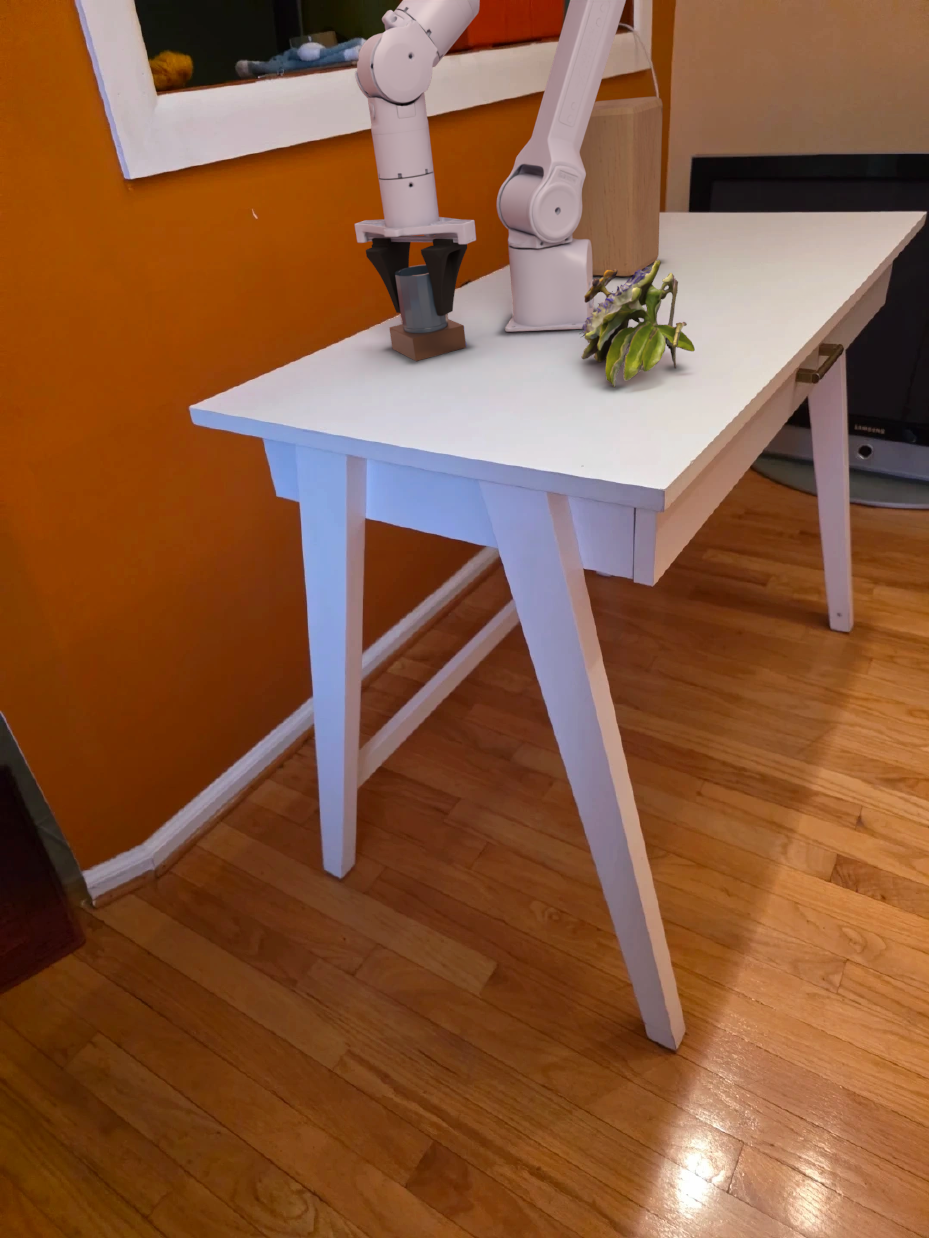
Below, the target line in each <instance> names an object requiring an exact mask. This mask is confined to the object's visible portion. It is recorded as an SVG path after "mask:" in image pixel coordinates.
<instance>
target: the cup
mask: <svg viewBox="0 0 929 1238" xmlns="http://www.w3.org/2000/svg"><path fill="white" fill-rule="evenodd" d="M394 274H395V281H396V287H397V294H398V301H399V308H400V313H399V314H400V321H401V324H402V326H403V330H404V331H405V332H408V333H428V332H433V331H437V330H440V329H443V328H445V327H446V326H448V324H449V323H448V319H449V313H448V314H446V315H444V316H438V315H437V312H436V308H435V303H434V296H433V288H432V283H431V279H430V275H429V272H428V269H427V266H426V264H418V265H417V264H416V265H411V266H409V267H406V268H403V269H400V270H398V271H396V272H395V273H394Z"/></svg>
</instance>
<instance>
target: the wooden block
mask: <svg viewBox="0 0 929 1238" xmlns="http://www.w3.org/2000/svg"><path fill="white" fill-rule="evenodd" d="M663 106H664V105H663V101H662V98H660V97H658V96H655V95H654V96H643V97H632V98H620V99H610V100H609V99H608V100H597V101H595V103H594V106H593V109H592V112H591V116H590V119H589V122H588V125H587V129H586V132H585V135H584V138H583V142H582V145H581V148H580V157H581V160H582V163H583V166H584V169H585V172H586V176H585V180H584V183H583V187H582V214H581V219H580V222H579V224H578V226H577V228H576V229H575V231H574V232H573V233H572V238H573V239H589V240H590V241H591V247H592V272H593V277H603V275H604V273H605V272H606V271H607V270H612V271H613V270H615V269H617V270H618V273H617V274H616V276H615V277H622V278H623V277H625V278H626V277H627V278H629V277H633V276H634V273H635V272H636V271H638V270H642V271H643V270H644V269H645V268H646V267H648V266H650V265H652V264H654V262H655V261H656V260H658V257H659V254H660V253H659V252H660V251H659V248H660V215H661V213H660V211H661V179H662V178H661V175H662V143H663V142H662V139H663V136H662V135H663Z"/></svg>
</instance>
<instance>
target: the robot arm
mask: <svg viewBox="0 0 929 1238" xmlns="http://www.w3.org/2000/svg"><path fill="white" fill-rule="evenodd" d="M626 1H627V0H569V3H568V7H567V10H566V13H565V17H564V20H563V24H562V28H561V31H560V35H559V38H558V42H557V46H556V49H555V53H554V56H553V60H552V63H551V67H550V71H549V74H548V78H547V81H546V85H545V88H544V92H543V95H542V99H541V103H540V107H539V109H538V113H537V116H536V120H535V124H534V127H533V131H532V134H531V137H530V139H529V140H528V141H527V143H526V144H525V145H524V147H523V148H522V149H521V150H520V152H519V153H518V155H516V157H515V161H514V164H513V167H512V170H511V172H510V174H509V175H508V177H506V179H505V180H504V181H503V183H502V184H501V186H500V188H499V190H498V193H497V198H496V212H497V215H498V218H499V220H500V222H501V223H502V225H503V226H504V227H505V229H507V230H508V237H507V244H508V245H507V248H508V261H509V274H510V276H509V277H510V288H511V303H512V316H511V318H510V319H509V321H508V322H507V324H506V325H505V327H504V329H505V332H508V333H509V332H511V333H512V332H529V331H530V332H532V331H533V332H534V331H536V332H537V331H559V330H560V331H561V330H582V329H583V328H582V327H583V325H584V324H586V323H585V321H586V319H587V318H588V317H591V316H592V314H591V313H593V312H594V310H595V307H594V306H595V305H594V304H595V297H594V298H593V299H592V300H590V301H589V302H587V303H585V297H584V296H585V295H586V294H587V292H588V291H589V290H590V288H591V287H592V286H593V285H592V283H593V280H594V276H593V272H592V247H591V241H590V240H589V239H573V238H572V233H573V232H574V231H575V229H576V228H577V226H578V224H579V222H580V219H581V214H582V187H583V183H584V180H585V176H586V172H585V169H584V166H583V163H582V160H581V157H580V148H581V145H582V142H583V138H584V135H585V132H586V129H587V125H588V122H589V119H590V116H591V112H592V109H593V106H594V103H595V102H596V100H597V95H598V92H599V89H600V86H601V82H602V79H603V77H604V74H605V70H606V67H607V63H608V60H609V57H610V53H611V51H612V47H613V43H614V41H615V37H616V33H617V31H618V28H619V24H620V21H621V18H622V15H623V11H624V7H625V4H626ZM480 3H481V2H480V0H402V1H401V2H400V3H399V4H398V6H397V7H396V8H395V10H394V11H393V9H389V10H387V11H386V12H385V14H384V15H383V16H382V18H381V21H382V23H383V24H384V29H385V31H384V32H381V33H377V34H374V35H372V36H371V37H369V38H368V39H366V41H365V42H364V43H363V44H362V46H361V48H360V49H359V51H358V55H357V57H358V60H357V61H356V70H355V72H354V78H355V82H356V84H357V86H358V88H359V90H360V91H361V93H362V94H363V96H365V97H366V99H367V102H368V111H369V117H370V125H371V126H370V131H371V137H372V144H373V150H374V158H375V165H376V170H377V178H378V184H379V192H380V198H381V205H382V210H383V218H384V219H365V220H363V221H359V222H356V223H354V230H355V231H354V232H355V234H356V235H355V236H356V243H358V244H364V243H368V242H371V243H372V244H371V247H369V248H367V249H365V256H366V259H368V261H369V262H370V263H371V264H372V266H373V267H374V268H375V270H376V271H377V273H378V275H379V276H380V278H381V280H382V282H383V284H384V286H385V289H386V290H387V293H388V295H389V297H390V299H391V302H392V305H393V307H394V309H395V313H397V314H400V308H399V301H398V294H397V287H396V281H395V274H394V273H395V272H396V271H398V270H400V269H403V268H406V267H410V249H411V244H412V243H432V245H430V246H427V247H424V248H422V249H420V254H421V256H422V259H423V262H424V264H425V265H426V266H427V269H428V272H429V275H430V279H431V283H432V288H433V296H434V303H435V308H436V312H437V315H438V316H444V315H446V314H448V315H449V314H450V313H451V312H453V310H454V301H455V291H456V287H457V286H456V285H457V281H458V276H459V273H460V268H461V265H462V263H463V259H464V258H465V257H464V256H465V254H466V252H467V249H468V244H471V243H473V242H476V241H477V234H476V223H475V220H474V219H461V218H460V219H459V218H453V217H452V218H451V217H442V216H440V213H439V206H438V198H437V197H438V196H437V187H436V178H435V171H434V162H433V153H432V144H431V136H430V125H429V119H428V113H427V105H426V95H425V92H427V91H428V90H429V88H430V86H431V81H432V77H433V68H436V66H438V65H439V63H440V62H441V60H442V59H443V58H444V57H445V55H446V54H447V53H448V52H449V50H450V49H451V48H452V47H453V45H454V44H455V43H456V42H457V41H458V39H459V38H460V36H461V35H462V34H463V33H464V32H465V30H466V29H467V28H468V26H470V24H472V21H473V20H474V19H475V18H476V17H477V15H478V14H479V11H480ZM583 330H584V329H583Z"/></svg>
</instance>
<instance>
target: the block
mask: <svg viewBox="0 0 929 1238" xmlns="http://www.w3.org/2000/svg"><path fill="white" fill-rule="evenodd" d="M448 323H449V324H448V326H446V327H445V328H443V329H440V330H437V331H433V332H428V333H408V332H405V331H404V330H403V326H402V323H401V324H397V325H393V326H390V327H388V328H389V335H390V341H391V348H392V350H393V351H396V352H397V353H398V354H399V353H400V354H401V355H403V356H405V357H407V358H409V359H411V360H413V361H415V362H418V361H422V360H426V359H429V358H432V357H436V356H441V355H444V354H448V353H451V352H455V351H459V350H462V349H466V348H467V342H466V334H465V325H464V324H462V323H459V322H456V321H454V320H452V319H449V318H448Z"/></svg>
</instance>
